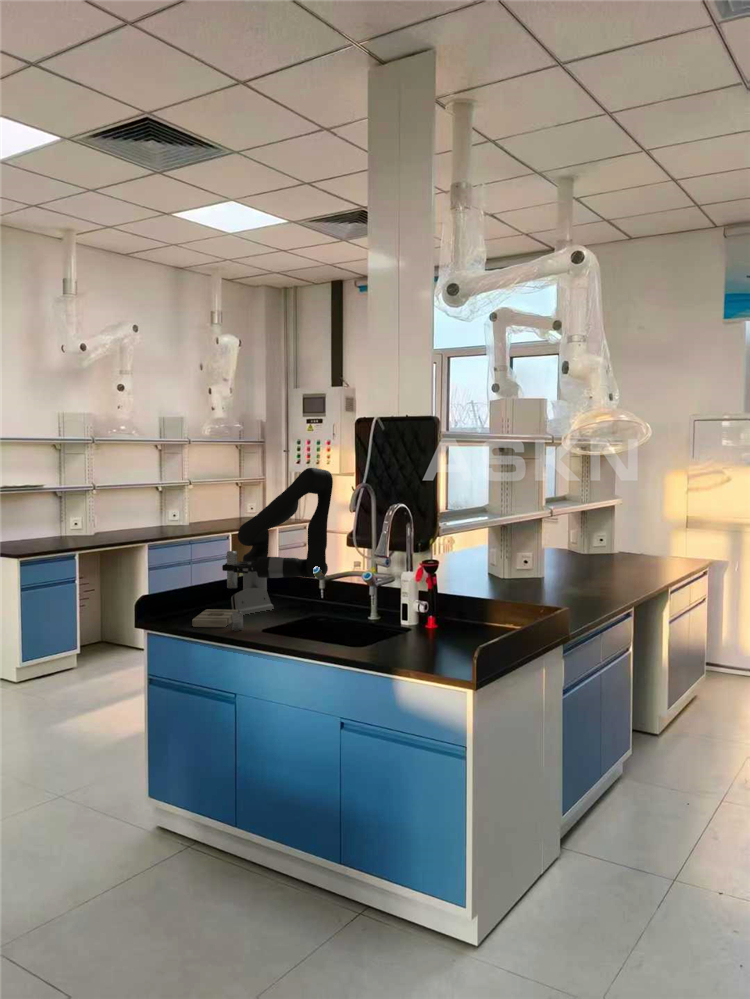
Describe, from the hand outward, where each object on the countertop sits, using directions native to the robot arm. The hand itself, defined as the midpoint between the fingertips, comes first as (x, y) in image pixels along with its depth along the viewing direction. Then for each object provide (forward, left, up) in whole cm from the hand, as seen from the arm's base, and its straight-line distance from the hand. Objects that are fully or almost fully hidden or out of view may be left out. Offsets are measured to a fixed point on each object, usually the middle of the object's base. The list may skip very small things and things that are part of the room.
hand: (224, 566), depth 282 cm
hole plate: (0, -3, -20) cm, 20 cm away
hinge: (-19, +6, -20) cm, 28 cm away
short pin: (+13, +8, -20) cm, 25 cm away
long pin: (0, +3, -8) cm, 8 cm away
